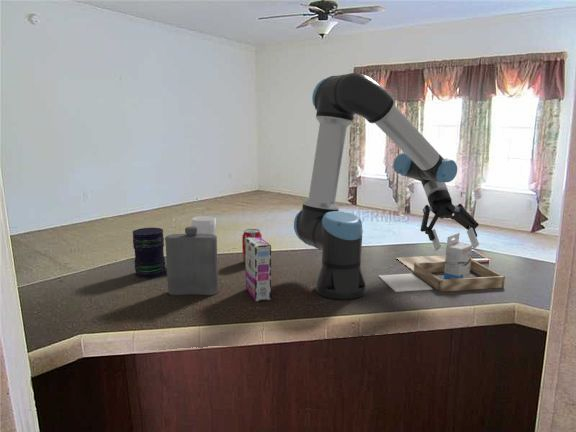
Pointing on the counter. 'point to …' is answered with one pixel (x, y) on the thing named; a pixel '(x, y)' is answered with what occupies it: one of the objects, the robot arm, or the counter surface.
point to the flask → (192, 263)
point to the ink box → (457, 258)
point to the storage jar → (149, 253)
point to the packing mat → (405, 282)
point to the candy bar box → (258, 268)
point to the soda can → (248, 234)
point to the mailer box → (437, 264)
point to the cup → (204, 224)
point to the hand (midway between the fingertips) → (457, 247)
